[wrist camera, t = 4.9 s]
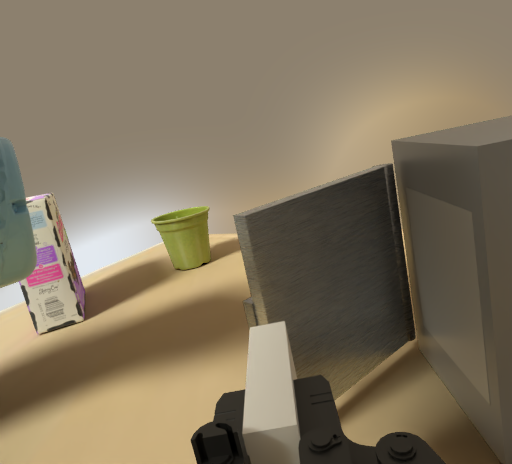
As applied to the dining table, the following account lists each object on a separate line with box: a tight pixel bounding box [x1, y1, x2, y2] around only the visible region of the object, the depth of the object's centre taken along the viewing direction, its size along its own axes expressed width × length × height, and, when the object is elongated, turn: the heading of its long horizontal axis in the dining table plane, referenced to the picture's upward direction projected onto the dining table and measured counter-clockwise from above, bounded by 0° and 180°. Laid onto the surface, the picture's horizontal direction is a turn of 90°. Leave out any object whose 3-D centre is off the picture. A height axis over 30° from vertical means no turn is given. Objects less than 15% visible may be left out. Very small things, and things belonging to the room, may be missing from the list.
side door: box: [234, 164, 416, 401], centre depth 27 cm, size 13×2×13 cm, turn 129°
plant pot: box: [151, 206, 211, 270], centre depth 69 cm, size 9×9×9 cm
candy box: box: [19, 193, 85, 334], centre depth 58 cm, size 14×6×16 cm, turn 22°
